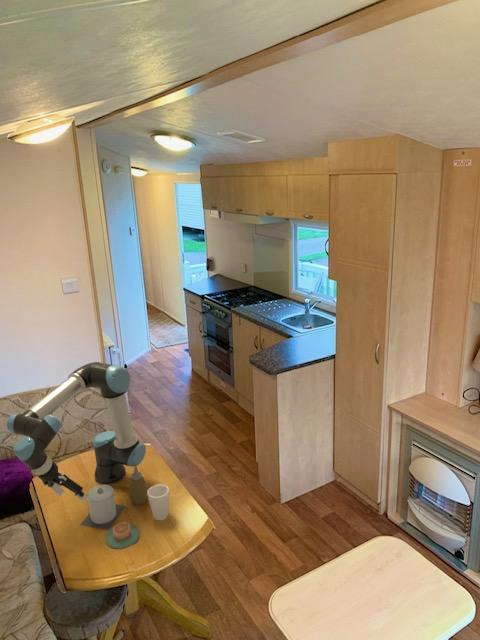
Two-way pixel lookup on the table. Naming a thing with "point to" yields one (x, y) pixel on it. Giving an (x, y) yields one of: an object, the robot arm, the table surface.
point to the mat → (106, 526)
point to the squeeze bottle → (137, 488)
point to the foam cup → (159, 501)
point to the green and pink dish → (122, 536)
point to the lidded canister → (101, 504)
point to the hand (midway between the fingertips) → (73, 496)
